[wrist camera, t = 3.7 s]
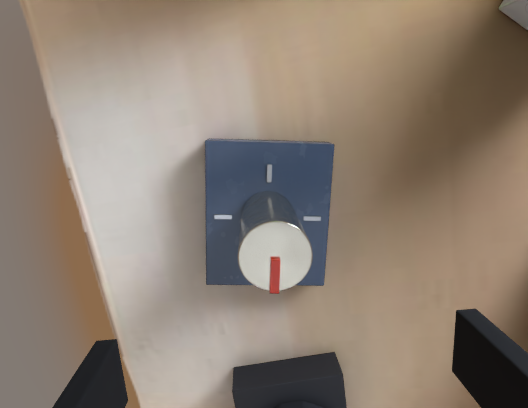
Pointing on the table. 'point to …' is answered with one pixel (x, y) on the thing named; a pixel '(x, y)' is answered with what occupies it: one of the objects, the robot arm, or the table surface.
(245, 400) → the black button base
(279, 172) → the dial panel
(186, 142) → the table surface
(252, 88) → the table surface
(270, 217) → the dial knob
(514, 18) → the small box
